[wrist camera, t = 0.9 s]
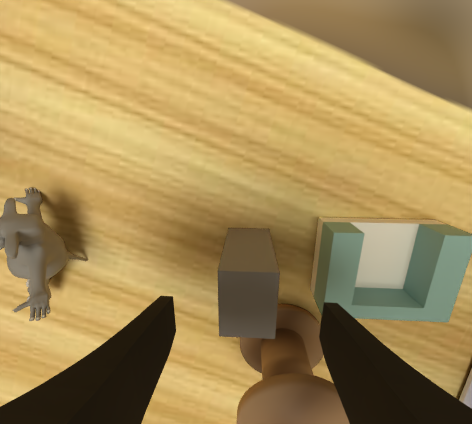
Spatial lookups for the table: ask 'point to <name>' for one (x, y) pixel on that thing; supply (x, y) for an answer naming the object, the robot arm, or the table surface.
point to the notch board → (389, 267)
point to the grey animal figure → (32, 250)
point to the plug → (248, 285)
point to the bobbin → (289, 375)
